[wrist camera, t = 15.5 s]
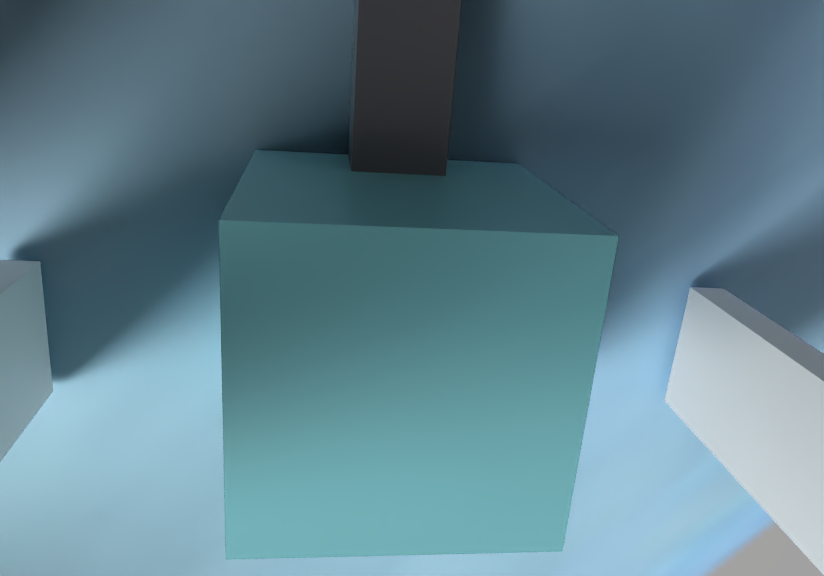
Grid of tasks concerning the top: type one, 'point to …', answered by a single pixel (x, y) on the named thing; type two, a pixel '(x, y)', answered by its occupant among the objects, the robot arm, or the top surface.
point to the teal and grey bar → (404, 327)
